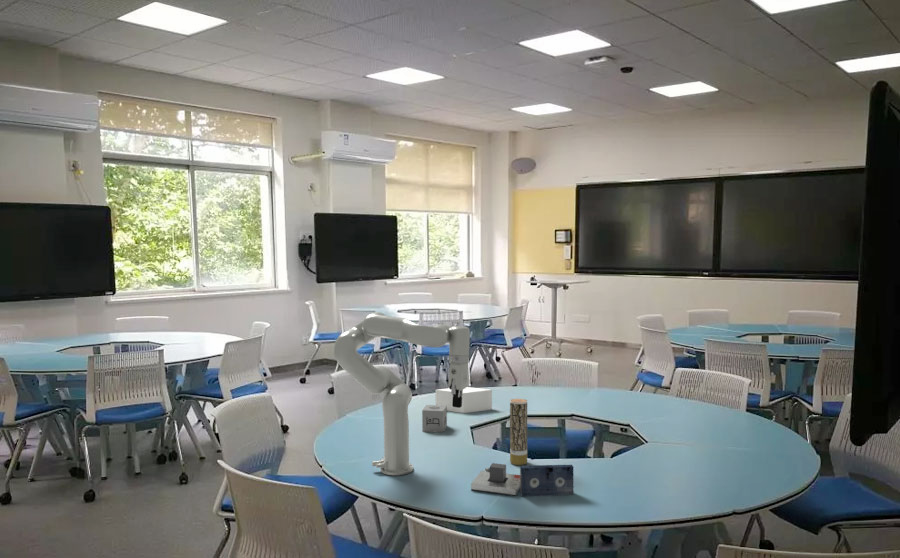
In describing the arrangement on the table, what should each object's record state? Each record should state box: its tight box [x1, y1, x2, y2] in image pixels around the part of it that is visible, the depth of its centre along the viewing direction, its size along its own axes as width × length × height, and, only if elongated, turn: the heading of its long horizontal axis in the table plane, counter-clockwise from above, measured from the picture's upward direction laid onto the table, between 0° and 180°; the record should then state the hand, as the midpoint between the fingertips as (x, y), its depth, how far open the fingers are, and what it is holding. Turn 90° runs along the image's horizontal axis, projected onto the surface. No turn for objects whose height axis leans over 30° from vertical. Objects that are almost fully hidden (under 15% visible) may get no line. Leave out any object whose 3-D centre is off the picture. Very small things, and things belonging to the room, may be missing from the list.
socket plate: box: [470, 470, 520, 497], centre depth 213 cm, size 16×13×3 cm
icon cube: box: [421, 404, 448, 433], centre depth 283 cm, size 10×10×10 cm
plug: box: [484, 462, 507, 484], centre depth 214 cm, size 7×4×7 cm, turn 71°
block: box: [435, 386, 493, 414], centre depth 317 cm, size 15×30×11 cm, turn 88°
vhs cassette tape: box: [519, 464, 575, 497], centre depth 206 cm, size 18×3×10 cm, turn 92°
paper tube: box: [509, 398, 528, 466], centre depth 236 cm, size 7×7×25 cm
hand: (457, 406), depth 226 cm, fingers closed
